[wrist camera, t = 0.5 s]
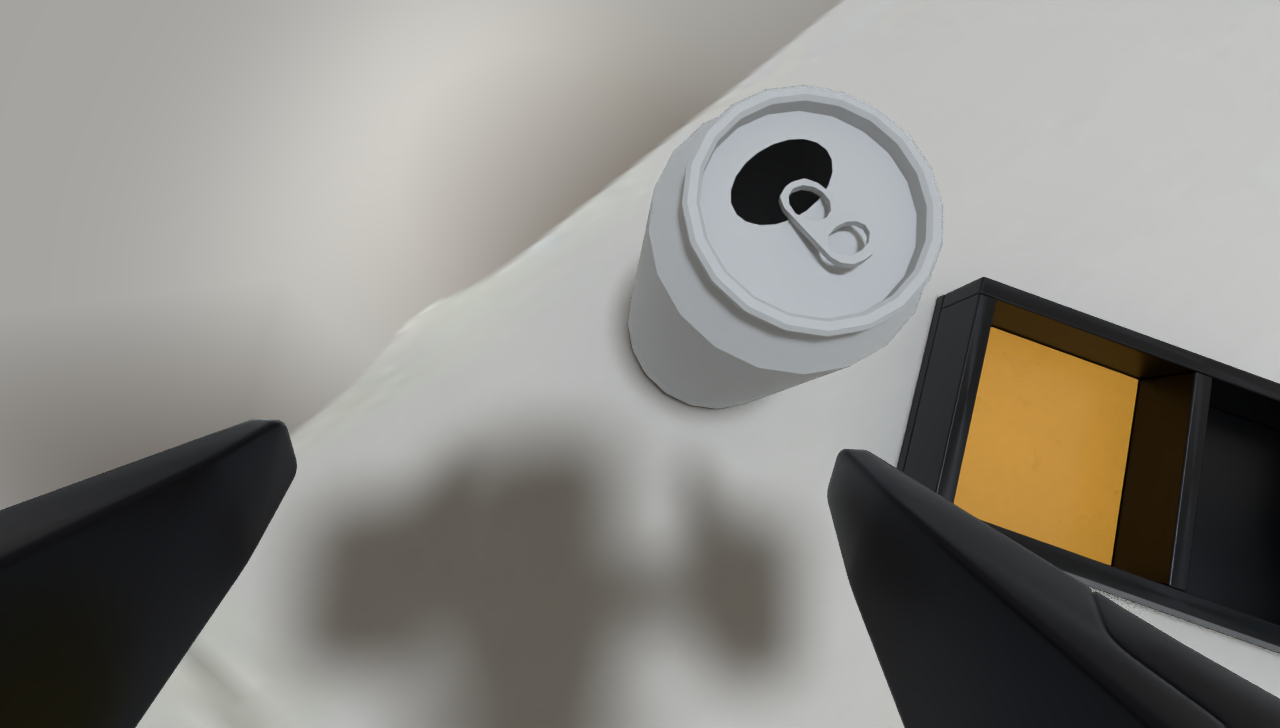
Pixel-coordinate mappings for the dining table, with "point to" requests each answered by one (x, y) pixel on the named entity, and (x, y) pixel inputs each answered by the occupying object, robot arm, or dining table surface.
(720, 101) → the dining table surface
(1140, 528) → the black divided tray
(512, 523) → the dining table surface
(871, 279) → the can
